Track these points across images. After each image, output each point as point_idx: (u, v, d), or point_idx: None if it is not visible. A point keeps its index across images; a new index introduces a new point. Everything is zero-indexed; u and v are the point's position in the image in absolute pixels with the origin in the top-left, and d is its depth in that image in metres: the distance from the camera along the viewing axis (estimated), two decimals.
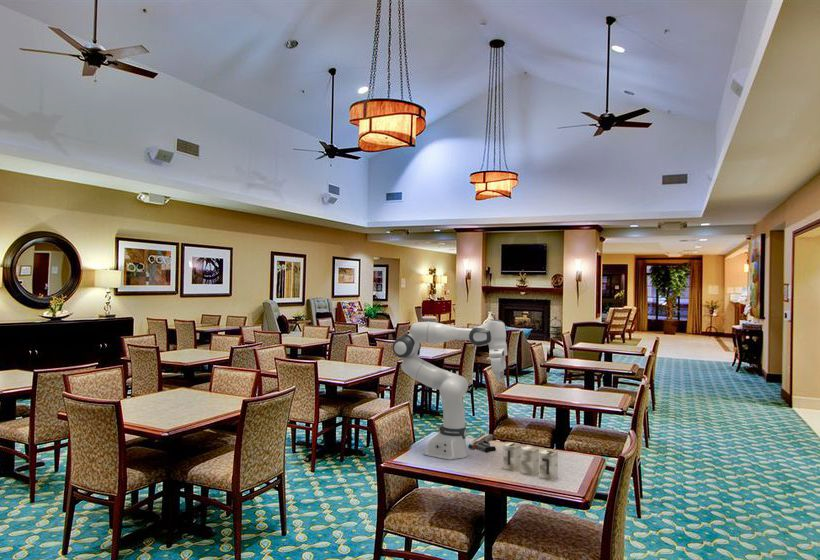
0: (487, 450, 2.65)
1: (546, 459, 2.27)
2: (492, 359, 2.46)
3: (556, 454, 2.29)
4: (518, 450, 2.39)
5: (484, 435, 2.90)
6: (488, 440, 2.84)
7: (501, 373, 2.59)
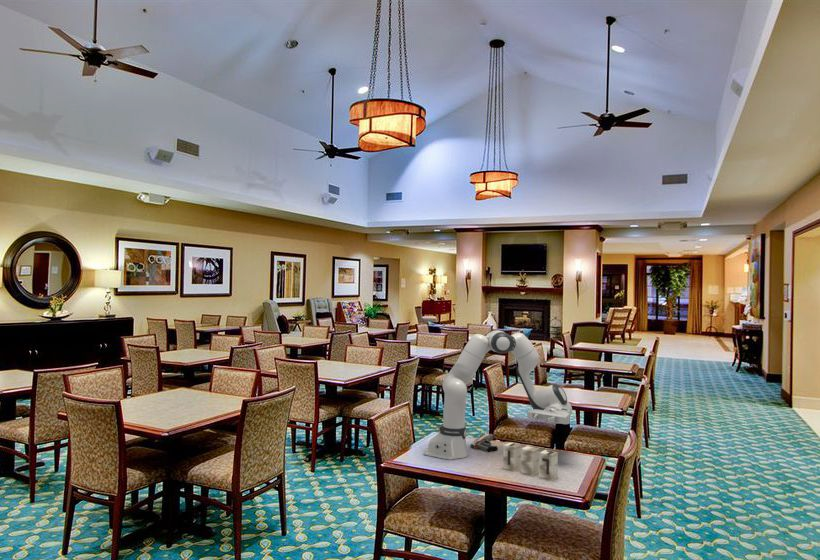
0: (489, 450, 2.65)
1: (546, 459, 2.27)
2: None
3: (556, 454, 2.29)
4: (518, 450, 2.39)
5: (484, 435, 2.91)
6: (489, 440, 2.84)
7: None
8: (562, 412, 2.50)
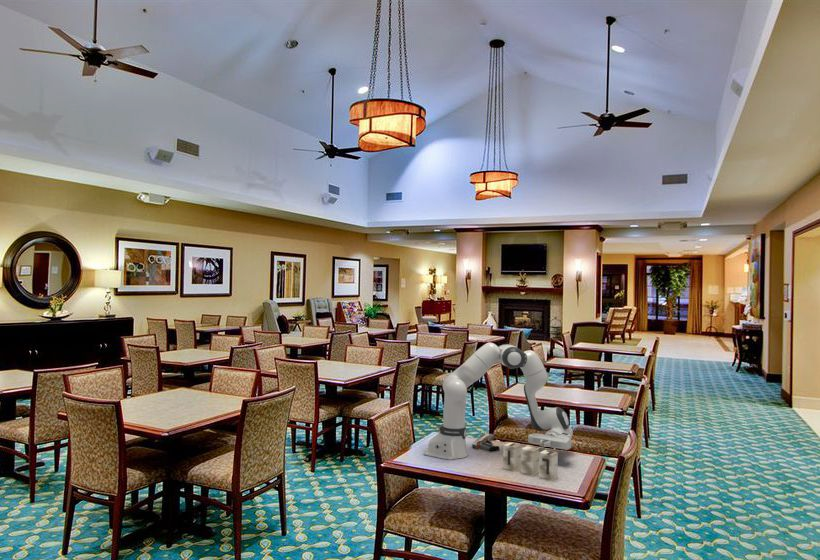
0: (491, 450, 2.66)
1: (546, 459, 2.27)
2: None
3: (556, 454, 2.29)
4: (518, 450, 2.39)
5: (485, 435, 2.91)
6: (490, 440, 2.85)
7: None
8: (563, 437, 2.49)
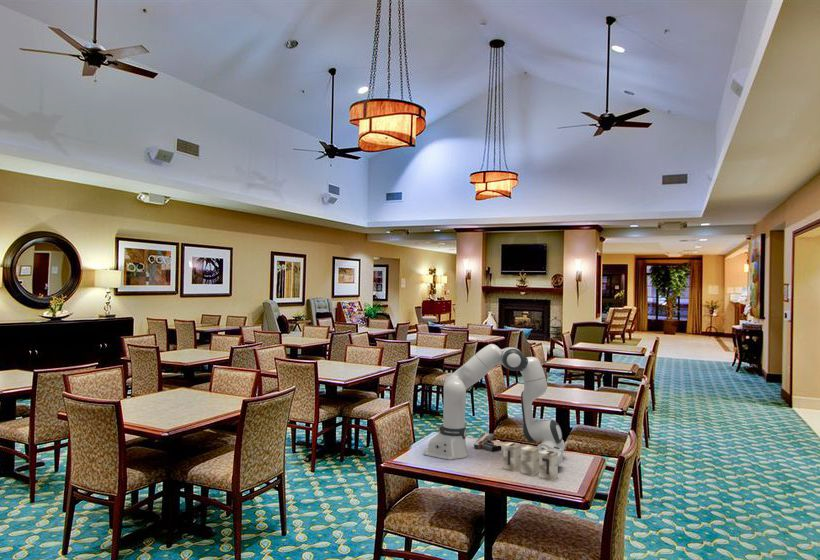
0: (494, 450, 2.66)
1: (546, 459, 2.27)
2: None
3: (556, 454, 2.29)
4: (518, 450, 2.39)
5: (485, 435, 2.91)
6: (490, 439, 2.85)
7: None
8: (554, 451, 2.42)
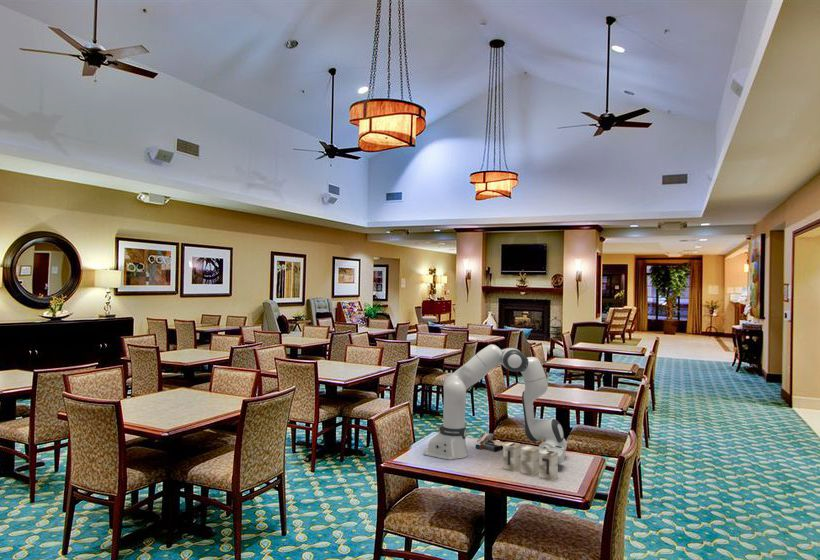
0: (496, 449, 2.67)
1: (546, 459, 2.27)
2: None
3: (556, 454, 2.29)
4: (518, 450, 2.39)
5: (485, 434, 2.92)
6: (490, 439, 2.86)
7: None
8: (556, 450, 2.43)
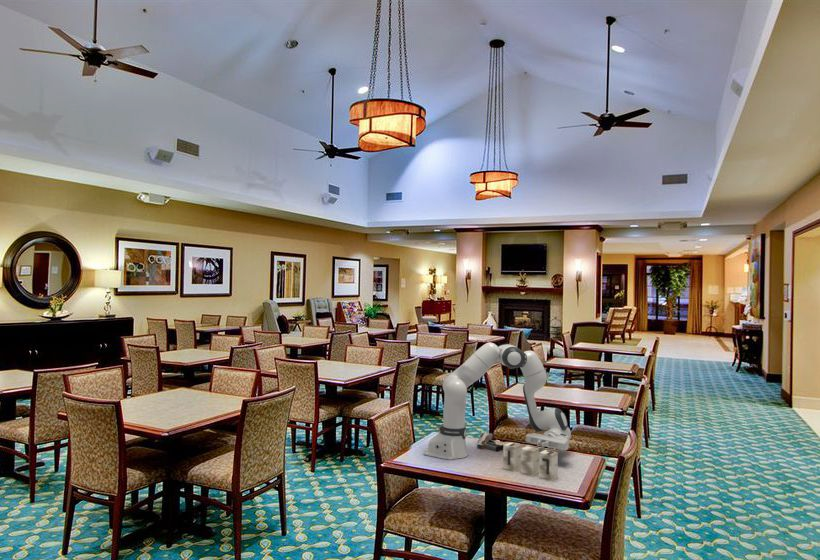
0: (498, 449, 2.67)
1: (546, 459, 2.27)
2: None
3: (556, 454, 2.29)
4: (518, 450, 2.39)
5: (484, 434, 2.92)
6: (491, 439, 2.86)
7: None
8: (561, 438, 2.49)
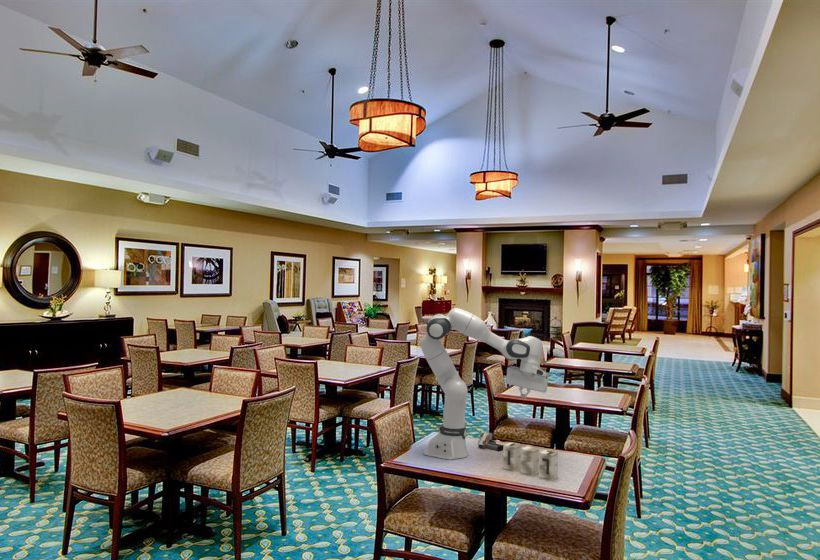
0: (499, 449, 2.68)
1: (546, 459, 2.27)
2: (546, 379, 2.47)
3: (556, 454, 2.29)
4: (518, 450, 2.39)
5: (484, 434, 2.92)
6: (491, 439, 2.87)
7: (521, 391, 2.51)
8: (539, 377, 2.48)
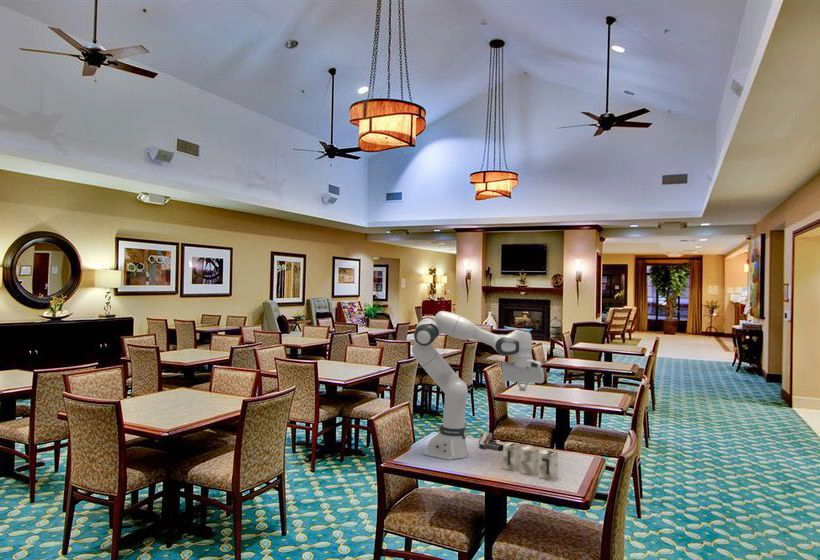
0: (500, 448, 2.68)
1: (546, 459, 2.27)
2: (541, 369, 2.48)
3: (556, 454, 2.29)
4: (518, 450, 2.39)
5: (484, 434, 2.93)
6: (491, 439, 2.87)
7: (519, 385, 2.52)
8: (534, 370, 2.48)
